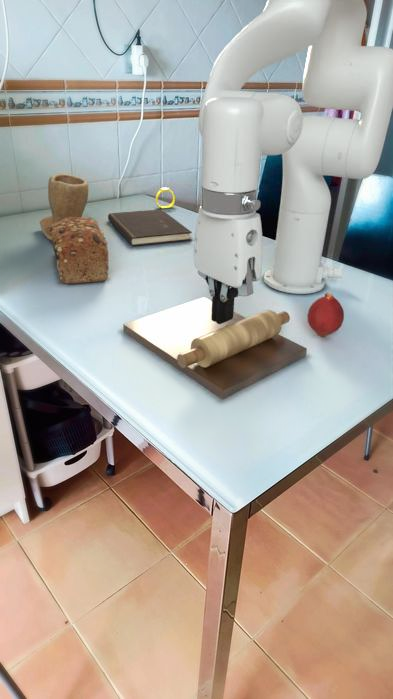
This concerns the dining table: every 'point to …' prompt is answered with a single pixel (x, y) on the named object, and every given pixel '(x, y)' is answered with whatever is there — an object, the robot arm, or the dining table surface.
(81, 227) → the bread
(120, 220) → the hardcover book
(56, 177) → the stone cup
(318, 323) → the onion
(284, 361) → the pastry board
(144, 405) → the dining table surface
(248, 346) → the rolling pin
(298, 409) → the dining table surface
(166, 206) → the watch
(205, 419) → the dining table surface
